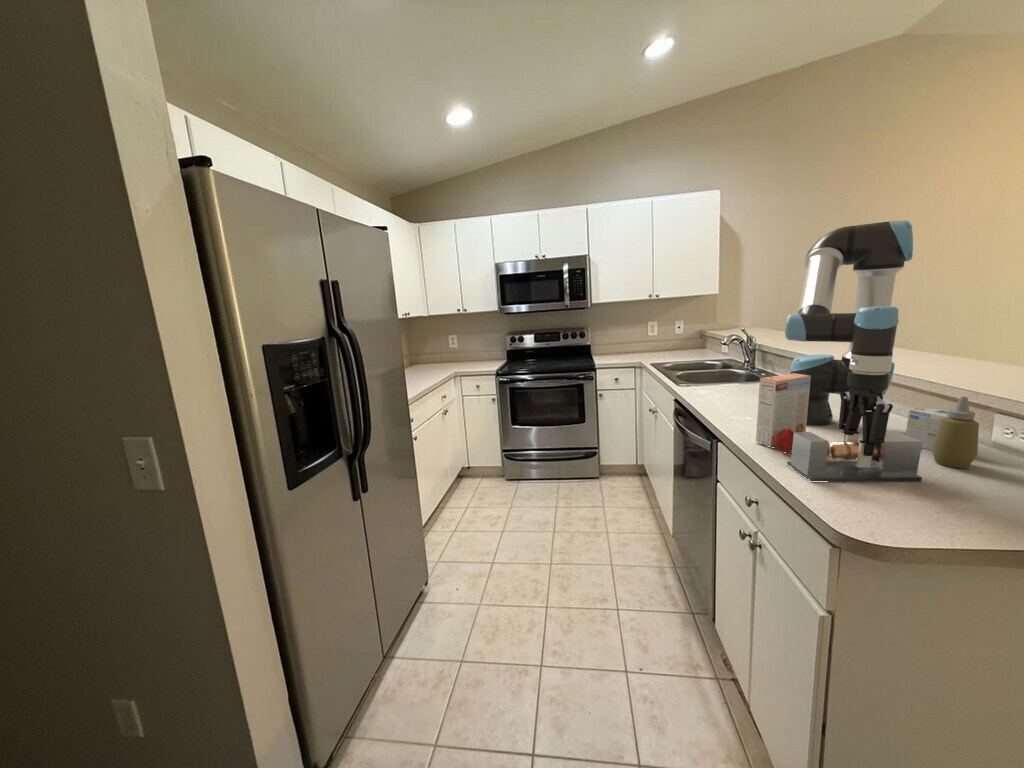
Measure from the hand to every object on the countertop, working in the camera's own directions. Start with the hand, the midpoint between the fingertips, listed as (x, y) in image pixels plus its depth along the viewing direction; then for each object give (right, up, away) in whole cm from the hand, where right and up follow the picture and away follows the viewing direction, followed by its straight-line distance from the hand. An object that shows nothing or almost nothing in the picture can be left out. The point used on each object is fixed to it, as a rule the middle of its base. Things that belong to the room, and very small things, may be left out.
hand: (855, 462), depth 102 cm
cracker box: (-4, +2, +23) cm, 24 cm away
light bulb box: (+34, +1, +14) cm, 37 cm away
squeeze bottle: (+27, -1, +3) cm, 28 cm away
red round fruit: (-8, 0, +15) cm, 17 cm away
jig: (-1, -3, +1) cm, 3 cm away
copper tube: (+2, +1, 0) cm, 3 cm away
